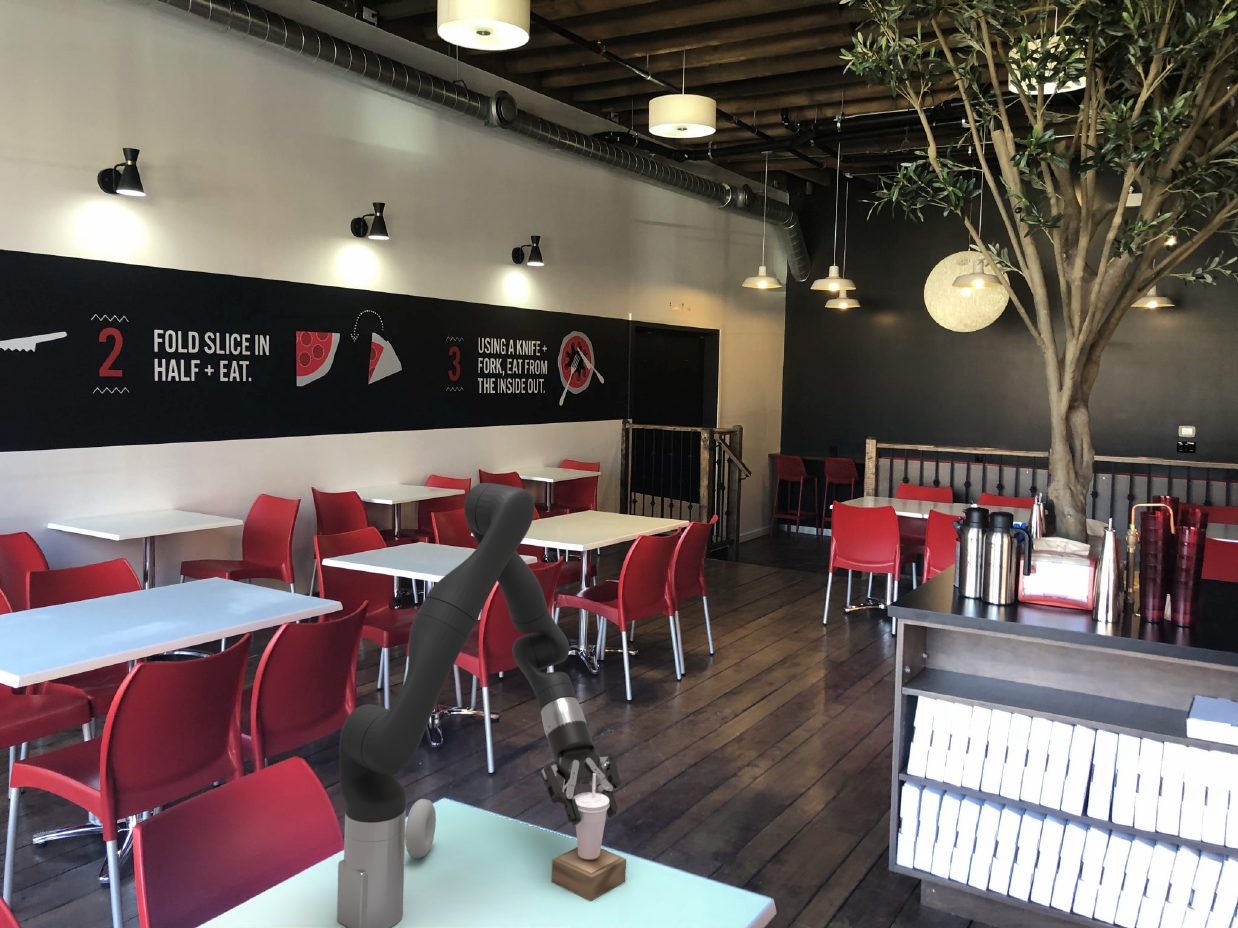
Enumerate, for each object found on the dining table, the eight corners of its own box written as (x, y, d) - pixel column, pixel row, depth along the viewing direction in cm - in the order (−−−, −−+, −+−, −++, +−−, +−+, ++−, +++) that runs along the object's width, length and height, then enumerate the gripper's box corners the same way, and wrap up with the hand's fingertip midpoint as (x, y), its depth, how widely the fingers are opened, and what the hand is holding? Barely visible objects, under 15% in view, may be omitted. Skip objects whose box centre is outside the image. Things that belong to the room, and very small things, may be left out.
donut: (419, 841, 175) (421, 789, 174) (437, 843, 174) (439, 790, 174) (401, 867, 165) (402, 811, 164) (420, 869, 164) (422, 813, 164)
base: (590, 900, 156) (591, 875, 156) (551, 881, 162) (552, 857, 162) (625, 881, 163) (626, 857, 163) (586, 863, 169) (587, 840, 169)
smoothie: (615, 854, 162) (618, 775, 162) (588, 866, 158) (592, 785, 157) (588, 841, 167) (591, 764, 166) (562, 853, 162) (565, 773, 161)
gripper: (537, 724, 164) (565, 818, 154) (609, 713, 171) (640, 802, 162) (523, 744, 169) (549, 836, 159) (593, 733, 176) (623, 820, 166)
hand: (595, 818), depth 160 cm, fingers closed on smoothie, 6 cm apart
